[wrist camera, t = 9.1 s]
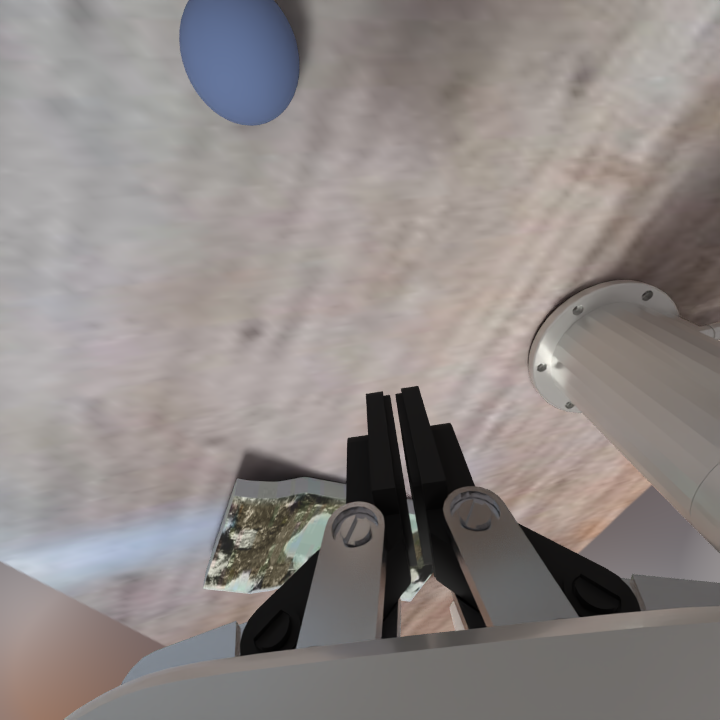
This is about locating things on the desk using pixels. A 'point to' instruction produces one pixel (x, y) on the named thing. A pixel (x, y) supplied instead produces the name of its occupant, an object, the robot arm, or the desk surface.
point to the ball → (240, 57)
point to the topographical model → (282, 534)
